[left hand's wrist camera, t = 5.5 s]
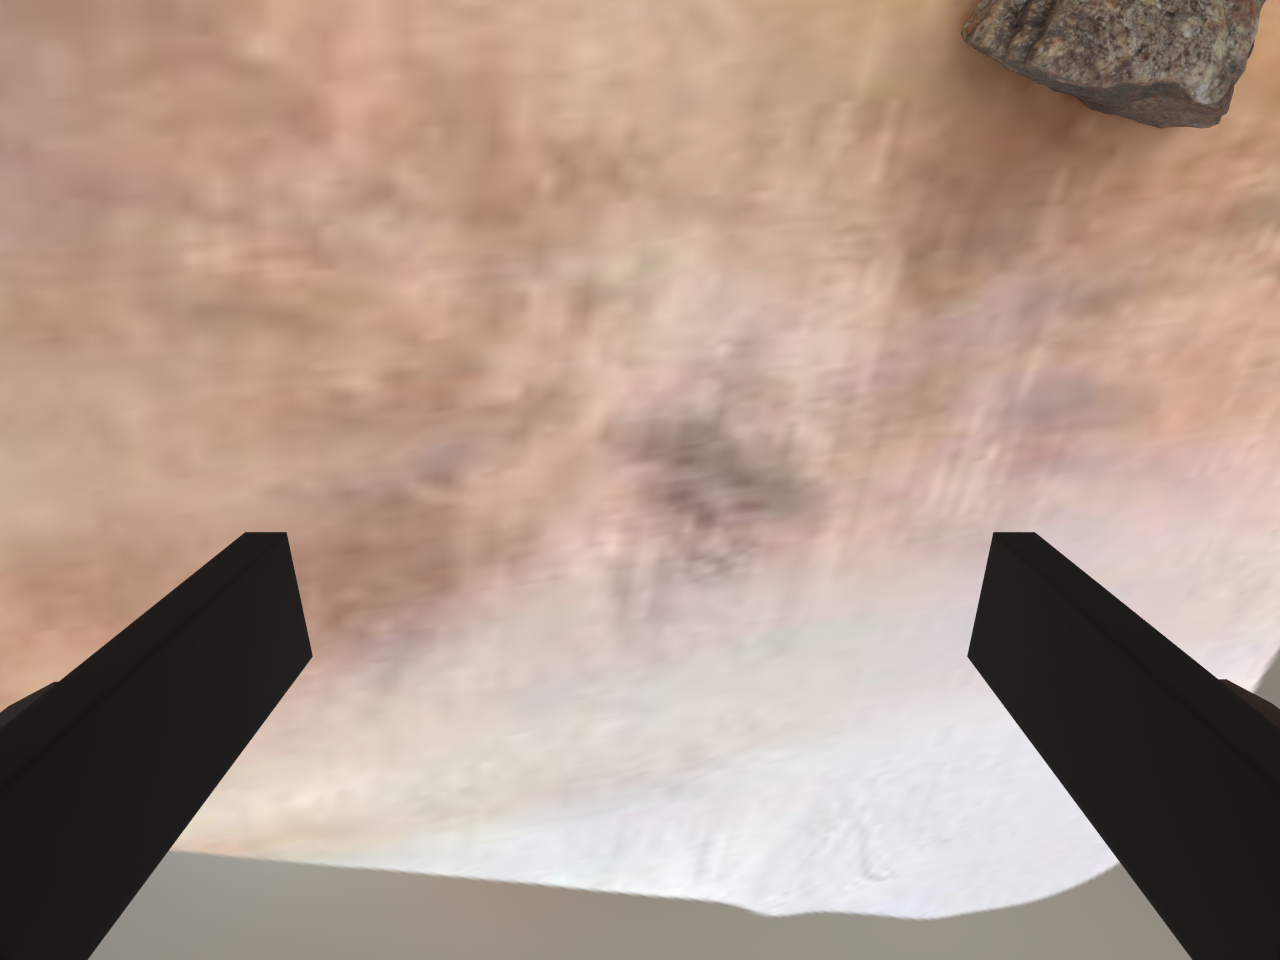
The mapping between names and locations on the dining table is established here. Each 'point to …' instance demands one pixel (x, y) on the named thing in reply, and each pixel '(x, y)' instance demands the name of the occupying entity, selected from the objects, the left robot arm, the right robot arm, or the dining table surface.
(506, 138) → the dining table surface
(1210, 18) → the rock
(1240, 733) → the left robot arm
